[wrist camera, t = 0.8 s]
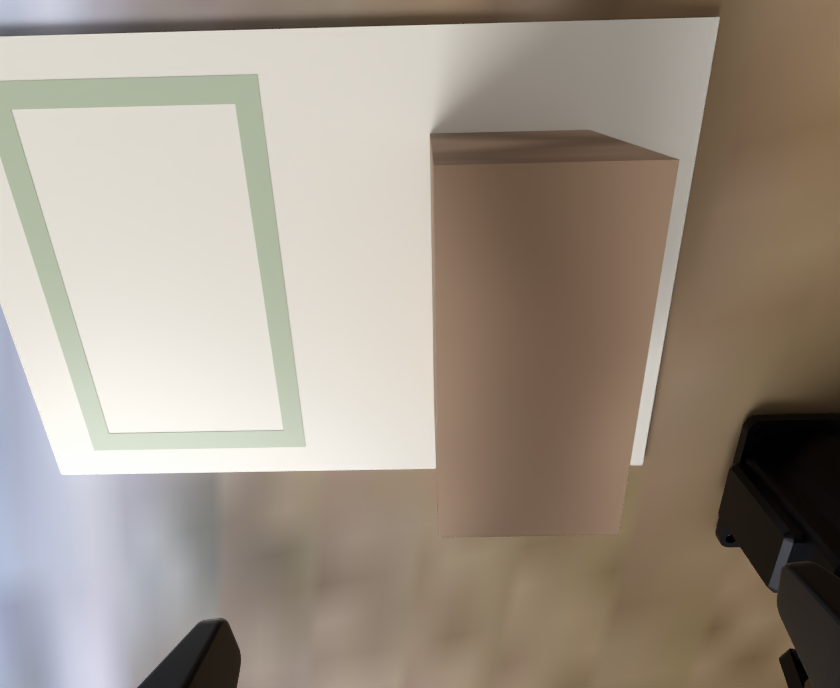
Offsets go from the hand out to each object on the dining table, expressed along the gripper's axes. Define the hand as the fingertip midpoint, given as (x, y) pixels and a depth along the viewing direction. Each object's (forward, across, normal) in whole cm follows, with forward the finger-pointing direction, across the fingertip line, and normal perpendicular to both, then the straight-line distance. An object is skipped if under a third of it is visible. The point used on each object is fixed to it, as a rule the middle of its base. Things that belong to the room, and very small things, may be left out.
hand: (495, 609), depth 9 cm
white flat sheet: (+13, +4, -2) cm, 14 cm away
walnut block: (+13, -2, -1) cm, 13 cm away
